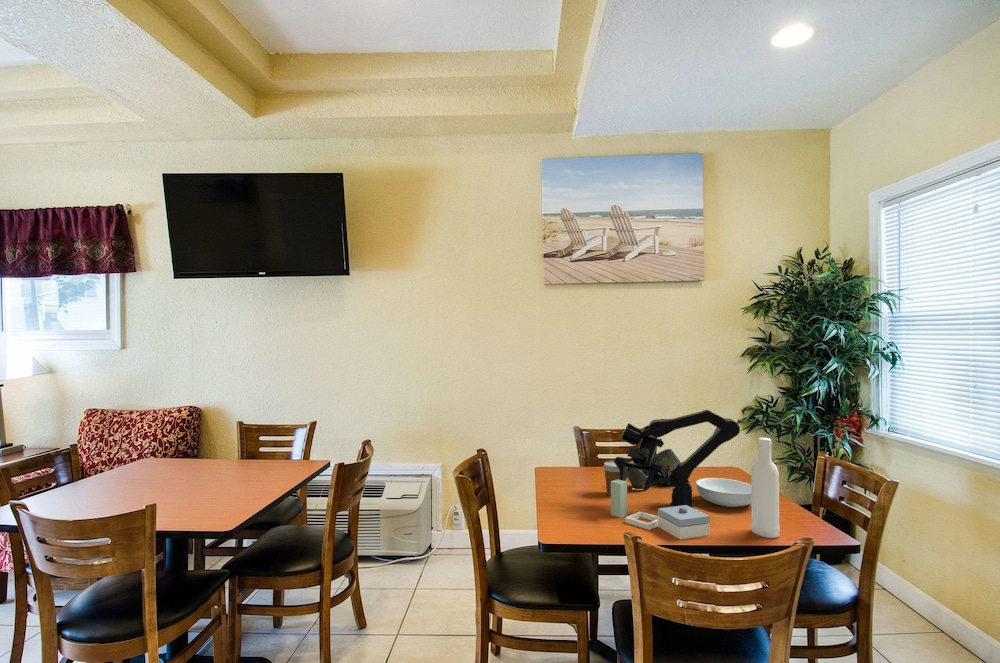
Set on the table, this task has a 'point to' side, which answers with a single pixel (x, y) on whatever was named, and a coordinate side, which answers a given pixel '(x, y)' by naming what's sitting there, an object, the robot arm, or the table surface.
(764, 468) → the bottle
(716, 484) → the serving bowl
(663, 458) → the squash
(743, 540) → the table surface
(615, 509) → the sage post
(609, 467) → the disposable coffee cup
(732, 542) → the table surface
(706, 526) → the lidded well
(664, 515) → the lid
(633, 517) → the post well
